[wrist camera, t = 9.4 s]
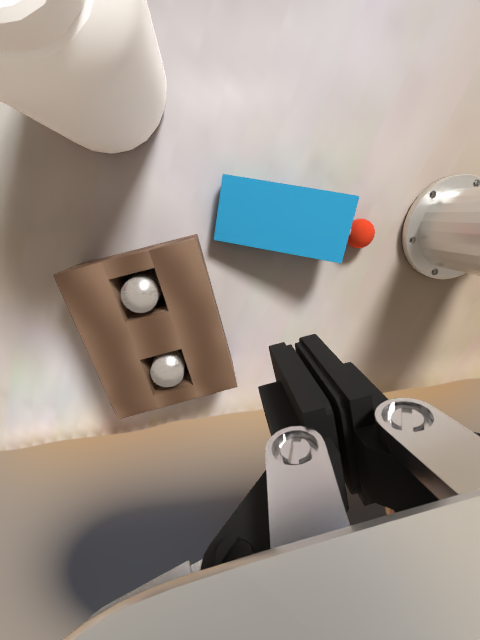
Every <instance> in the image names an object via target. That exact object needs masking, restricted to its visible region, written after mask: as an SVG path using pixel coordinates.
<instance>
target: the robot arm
mask: <svg viewBox="0 0 480 640" xmlns="http://www.w3.org/2000/svg"><path fill="white" fill-rule="evenodd" d="M402 243H403V249H404V253H405V255H406V258H407V260H408V262H409V263H410V264H411V266H412V267H413V268H414V269H415V270H416V271H418V272H419V273H421V274H423V275H425V276H427V277H431V278H435V279H451V278H455V277H459V276H461V275H463V274H465V273H469V274H473V275H478V276H480V177H479V176H476V175H471V174H459V175H452V176H448V177H445V178H442V179H440V180H438V181H436V182H434V183H433V184H432V185H430V186H429V187H427V188H426V189H425V190H424V191H423V192H422V193H421V194H420V195H419V196H418V198H417V199H416V200H415V202H414V203H413V204H412V206H411V208H410V210H409V212H408V214H407V217H406V220H405V223H404V227H403V233H402ZM295 349H296V351H295V350H294V348H293V347H292V345H287V346H286V344H285V343H284V342H282V343H279V344H275V345H271V346H269V351H270V356H271V360H272V364H273V369H274V373H275V377H276V382H274V383H270V384H266V385H263V386H259V387H258V388H259V393H260V397H261V401H262V404H263V408H264V412H265V416H266V419H267V423H268V427H269V430H270V433H271V438H270V439H269V441H268V443H267V444H266V450H265V453H266V470H265V472H264V473H263V474H262V476H261V477H260V479H259V480H258V481H257V482H256V484H255V485H254V487H253V488H252V489H251V490H250V492H249V493H248V494H247V496H246V497H245V498H244V500H243V501H242V502H241V504H240V505H239V506H238V508H237V509H236V510H235V512H234V513H233V514H232V516H231V517H230V518H229V520H228V521H227V522H226V524H225V525H224V526H223V528H222V529H221V530H220V532H219V533H218V535H217V536H216V537H215V538H214V540H213V541H212V542H211V544H210V545H209V547H208V549H207V550H206V552H205V554H204V557H203V559H202V560H200V561H199V562H197V563H195V564H193V565H190V563H189V561H187V562H185V563H183V564H181V565H179V566H178V567H176V568H174V569H172V570H170V571H168V572H166V573H165V574H163V575H161V576H159V577H157V578H155V579H154V580H152V581H150V582H148V583H146V584H144V585H142V586H141V587H139V588H137V589H135V590H133V591H131V592H130V593H128V594H126V595H124V596H122V597H120V598H119V599H117V600H115V601H113V602H111V603H109V604H108V605H106V606H104V607H102V608H101V609H100V610H98V611H97V612H96V613H94V614H93V615H91V616H90V618H89V619H88V620H87V621H86V622H85V623H84V624H83V625H81V626H80V627H79V628H77V629H76V630H74V631H73V632H72V633H70V634H69V635H68V636H66V637H65V638H63V639H62V640H480V434H479V433H475V432H472V431H470V430H469V429H467V428H466V427H464V426H463V425H461V424H460V423H458V422H456V421H455V420H453V419H452V418H450V417H449V416H447V415H446V414H444V413H442V412H441V411H439V410H438V409H436V408H435V407H433V406H432V405H430V404H428V403H426V402H424V401H421V400H417V399H413V398H394V399H390V400H388V399H387V398H386V397H385V396H384V395H383V394H382V393H381V392H380V391H379V390H378V389H377V388H376V387H375V386H374V385H373V384H372V383H371V382H370V381H369V380H368V379H367V378H366V376H365V375H364V374H363V373H362V372H361V371H360V370H359V369H358V368H357V367H356V366H355V365H354V364H352V363H351V362H348V363H344V364H343V363H342V362H341V361H340V360H339V359H338V358H337V356H336V355H335V354H334V353H333V352H332V351H331V350H330V349H329V348H328V347H327V346H326V345H325V344H324V342H323V341H322V340H321V339H320V338H319V337H318V336H317V335H316V334H312V335H309V336H305V337H301V338H300V339H299V342H298V343H295ZM345 484H346V486H347V487H348V489H349V491H350V492H351V494H356V493H358V495H359V497H360V498H361V500H362V502H363V504H364V505H369V504H372V503H377V504H380V505H382V506H385V509H386V513H387V515H386V516H383V517H379V518H376V519H372V520H369V521H366V522H362V523H358V524H355V525H352V526H350V524H349V521H348V518H347V514H346V513H347V511H348V509H349V506H348V500H347V493H346V488H345Z"/></svg>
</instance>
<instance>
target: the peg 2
mask: <svg viewBox="0 0 480 640" xmlns="http://www.w3.org/2000/svg"><path fill="white" fill-rule="evenodd" d="M184 368H185V358H184V355H183V352H182V349H179V350H175V351H172V352H168V353H164V354H160V355H157V356H155V358H154V361H153V364H152V367H151V370H150V374H151V378H152V380H153V381H154V382H155V383H156V384H157V385H159V386H162V387H173V386H175V385H177V384H178V383H180V382H181V380H182V378H183V376H184Z"/></svg>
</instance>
